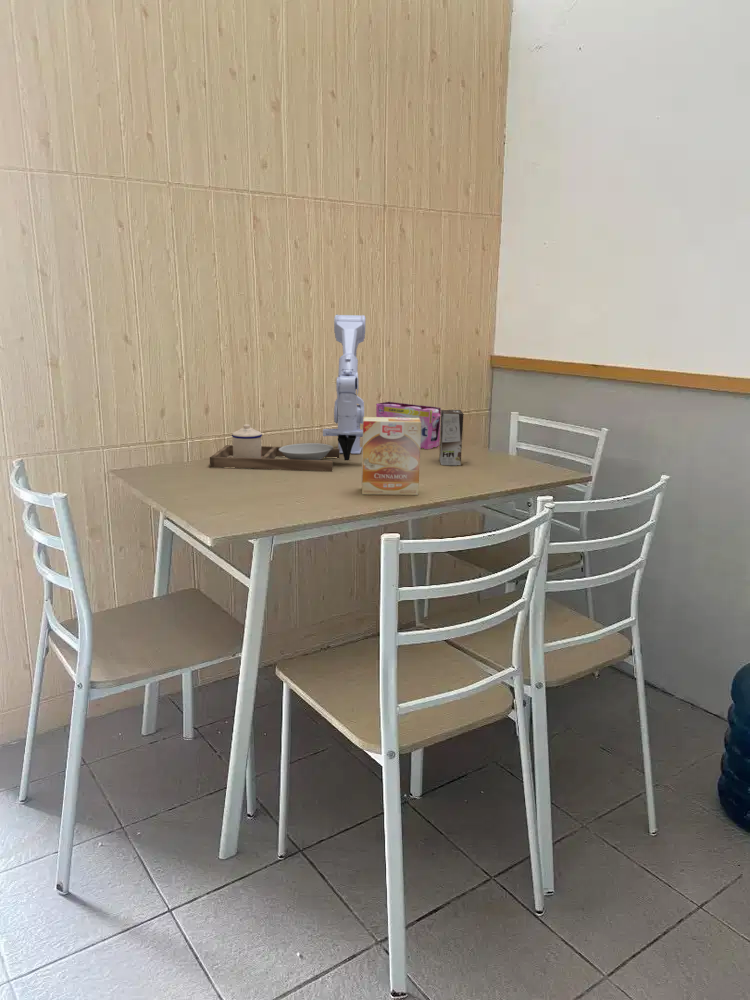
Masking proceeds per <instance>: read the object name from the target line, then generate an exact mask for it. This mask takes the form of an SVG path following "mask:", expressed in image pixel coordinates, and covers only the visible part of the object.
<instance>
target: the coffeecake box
mask: <svg viewBox="0 0 750 1000" xmlns="http://www.w3.org/2000/svg"><path fill="white" fill-rule="evenodd" d="M362 430H363V437H362V450H361V453H362V454H361V455H362V459H361V461H362V462H361V495H379V496H380V495H383V496H385V495H387V496H388V495H390V496H393V495H394V496H419V492H420V491H419V489H420V467H421V466H420V465H421V464H420V463H421V448H420V443H421V421H420V419H419V418H395V417H376V416H364V417H363V424H362Z"/></svg>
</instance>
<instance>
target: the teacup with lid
mask: <svg viewBox="0 0 750 1000" xmlns="http://www.w3.org/2000/svg"><path fill="white" fill-rule="evenodd" d="M262 436H263V434H262V432H261V431H259V430H257V429H254V428H253V427H251V425H250V424H249V423H248V424H247V423H246V424H243V427H241V428H239V429H238V430H235V431H232V433H231V437H232V440H231V441H232V444H231V445H233V455H232V457H234V458H262V457H263V456H262V446H263V445H262Z"/></svg>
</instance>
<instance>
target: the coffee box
mask: <svg viewBox="0 0 750 1000" xmlns="http://www.w3.org/2000/svg"><path fill="white" fill-rule="evenodd" d="M463 431H464V413H463V411H462V410H461V409H441V416H440V441H439V453H438V454H439V457H438V459H439V463H440V465H441V466H457V465H460V466H461V464H462V463H461V462H462V449H463V445H462V444H463V433H464V432H463Z"/></svg>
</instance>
